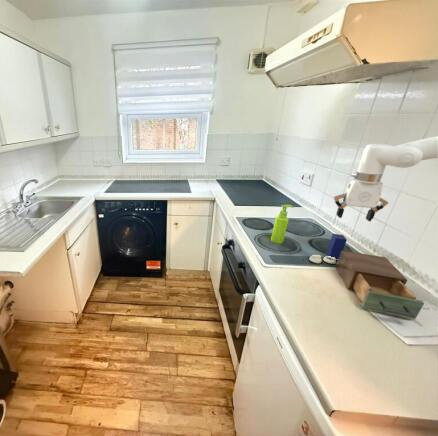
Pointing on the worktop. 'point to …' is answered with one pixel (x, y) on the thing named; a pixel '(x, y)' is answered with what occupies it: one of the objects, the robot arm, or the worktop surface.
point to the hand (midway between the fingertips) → (353, 218)
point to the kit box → (336, 245)
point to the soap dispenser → (280, 225)
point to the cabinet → (365, 267)
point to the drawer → (386, 296)
